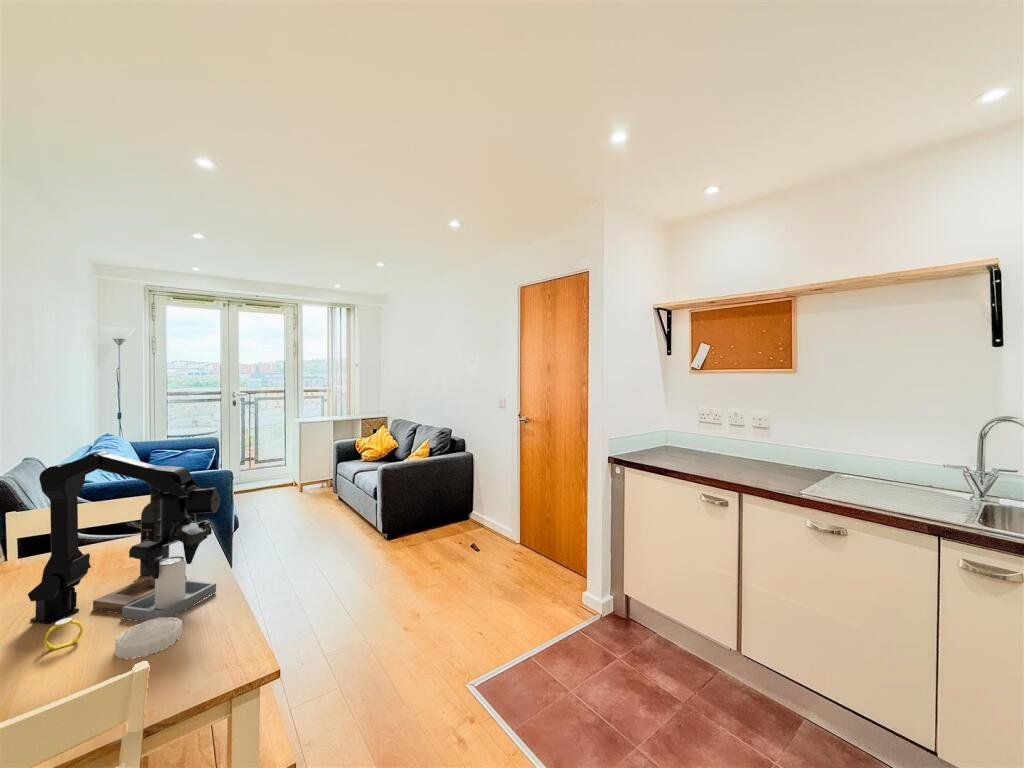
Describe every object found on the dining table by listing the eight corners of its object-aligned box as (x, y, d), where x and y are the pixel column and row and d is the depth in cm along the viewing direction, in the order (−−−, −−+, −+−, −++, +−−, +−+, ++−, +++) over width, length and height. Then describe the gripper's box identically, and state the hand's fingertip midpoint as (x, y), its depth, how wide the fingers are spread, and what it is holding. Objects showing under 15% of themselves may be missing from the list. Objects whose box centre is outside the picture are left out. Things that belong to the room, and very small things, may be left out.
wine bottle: (155, 576, 131) (157, 481, 131) (137, 576, 131) (139, 481, 131) (170, 568, 137) (172, 477, 137) (153, 568, 137) (155, 477, 137)
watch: (45, 655, 93) (42, 630, 93) (45, 650, 95) (43, 625, 95) (83, 642, 98) (81, 617, 97) (83, 637, 99) (81, 613, 99)
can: (158, 613, 109) (159, 567, 109) (151, 605, 113) (152, 561, 113) (188, 603, 114) (189, 559, 114) (180, 595, 118) (181, 553, 118)
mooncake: (175, 623, 106) (175, 609, 106) (188, 641, 99) (188, 626, 99) (110, 645, 97) (111, 630, 97) (119, 668, 89) (120, 651, 89)
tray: (160, 624, 105) (160, 612, 105) (121, 619, 107) (122, 607, 107) (215, 593, 121) (216, 583, 121) (181, 589, 123) (181, 579, 123)
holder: (125, 614, 110) (125, 604, 110) (93, 609, 111) (93, 600, 111) (186, 584, 126) (186, 575, 126) (157, 580, 128) (157, 572, 128)
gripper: (164, 527, 104) (163, 590, 104) (227, 506, 122) (227, 559, 122) (127, 524, 106) (126, 585, 106) (195, 504, 124) (195, 556, 124)
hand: (173, 570), depth 114 cm, fingers open, 9 cm apart
